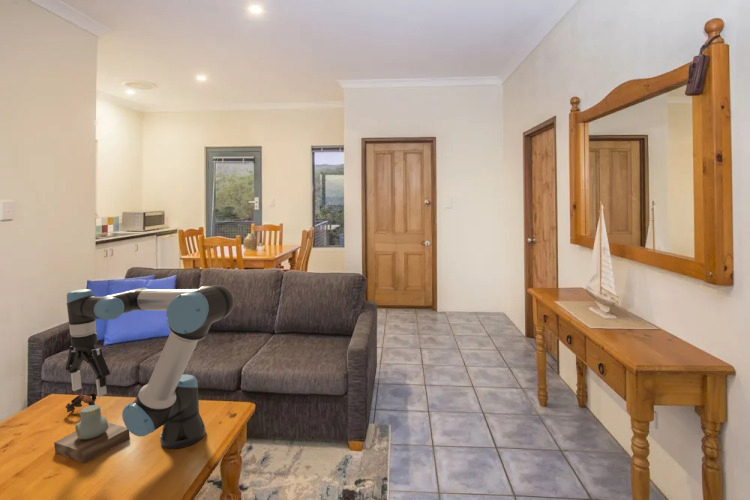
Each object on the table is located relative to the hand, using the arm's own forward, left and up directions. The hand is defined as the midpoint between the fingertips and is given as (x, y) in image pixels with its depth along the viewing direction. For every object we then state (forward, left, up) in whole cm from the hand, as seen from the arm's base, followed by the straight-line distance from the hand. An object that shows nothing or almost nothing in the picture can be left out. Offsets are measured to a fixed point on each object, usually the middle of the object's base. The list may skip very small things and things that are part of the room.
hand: (89, 392), depth 145 cm
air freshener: (0, 0, -16) cm, 16 cm away
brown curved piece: (+31, -16, -20) cm, 40 cm away
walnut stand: (0, 0, -20) cm, 20 cm away
